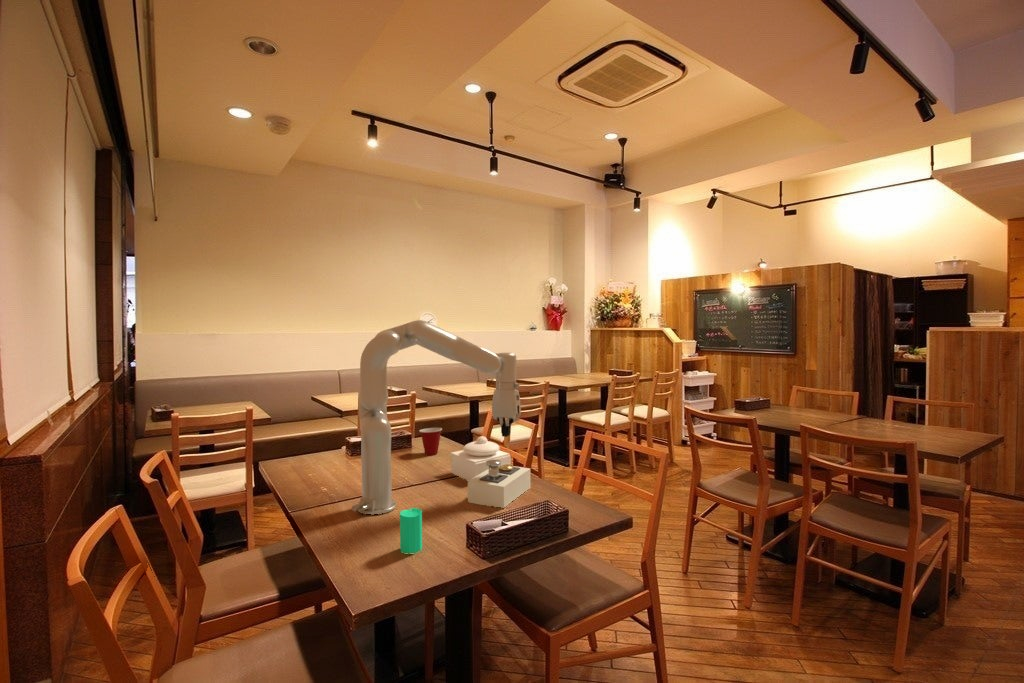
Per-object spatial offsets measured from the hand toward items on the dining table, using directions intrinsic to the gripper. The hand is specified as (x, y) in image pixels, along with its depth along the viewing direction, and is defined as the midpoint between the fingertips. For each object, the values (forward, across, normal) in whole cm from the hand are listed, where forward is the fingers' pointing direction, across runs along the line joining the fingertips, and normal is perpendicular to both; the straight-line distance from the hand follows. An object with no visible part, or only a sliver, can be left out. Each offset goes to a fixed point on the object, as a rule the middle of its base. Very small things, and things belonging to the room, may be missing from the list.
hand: (505, 435), depth 177 cm
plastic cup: (+21, +55, -30) cm, 66 cm away
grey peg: (+15, 0, +10) cm, 18 cm away
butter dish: (+21, +18, -13) cm, 31 cm away
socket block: (+20, 0, +5) cm, 21 cm away
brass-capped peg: (+19, 0, 0) cm, 19 cm away
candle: (+21, +3, +52) cm, 56 cm away
